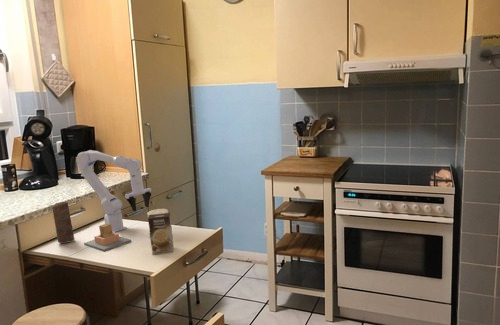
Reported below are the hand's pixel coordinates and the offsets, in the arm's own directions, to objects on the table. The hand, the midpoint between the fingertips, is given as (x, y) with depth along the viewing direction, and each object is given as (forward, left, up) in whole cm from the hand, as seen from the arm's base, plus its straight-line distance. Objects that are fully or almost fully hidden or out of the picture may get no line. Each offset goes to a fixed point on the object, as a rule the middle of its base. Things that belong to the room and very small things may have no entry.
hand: (140, 208), depth 213 cm
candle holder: (+19, -3, -11) cm, 22 cm away
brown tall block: (-18, -32, -11) cm, 39 cm away
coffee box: (+38, -16, -11) cm, 42 cm away
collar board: (+4, -23, -10) cm, 25 cm away
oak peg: (+4, -23, -9) cm, 25 cm away
